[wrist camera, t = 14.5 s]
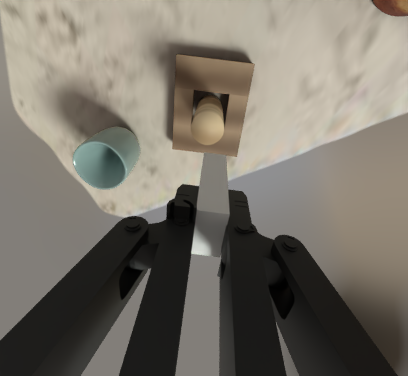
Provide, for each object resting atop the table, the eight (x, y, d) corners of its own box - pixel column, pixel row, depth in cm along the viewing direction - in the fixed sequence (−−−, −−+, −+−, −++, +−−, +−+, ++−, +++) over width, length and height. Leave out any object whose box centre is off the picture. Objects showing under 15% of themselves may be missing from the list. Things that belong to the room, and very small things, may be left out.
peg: (199, 93, 37) (192, 109, 27) (224, 96, 37) (226, 113, 27) (196, 118, 39) (189, 142, 29) (220, 121, 39) (221, 146, 29)
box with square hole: (178, 54, 35) (176, 54, 32) (252, 63, 35) (254, 64, 33) (174, 143, 42) (172, 149, 40) (235, 151, 42) (236, 156, 40)
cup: (126, 113, 39) (100, 130, 31) (153, 151, 43) (137, 176, 34) (93, 135, 42) (60, 157, 33) (121, 169, 45) (98, 197, 36)
